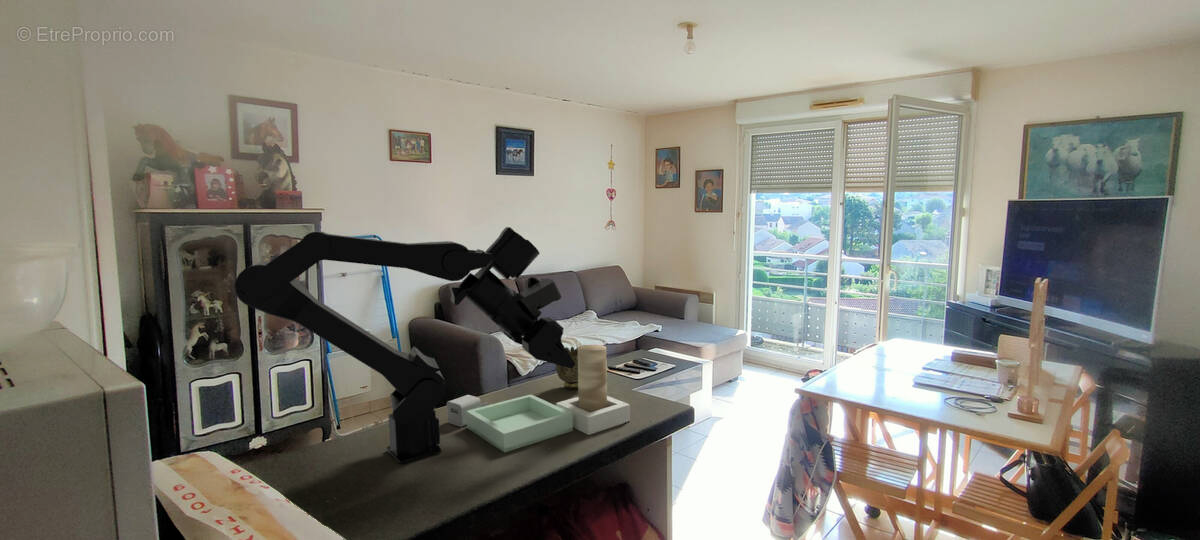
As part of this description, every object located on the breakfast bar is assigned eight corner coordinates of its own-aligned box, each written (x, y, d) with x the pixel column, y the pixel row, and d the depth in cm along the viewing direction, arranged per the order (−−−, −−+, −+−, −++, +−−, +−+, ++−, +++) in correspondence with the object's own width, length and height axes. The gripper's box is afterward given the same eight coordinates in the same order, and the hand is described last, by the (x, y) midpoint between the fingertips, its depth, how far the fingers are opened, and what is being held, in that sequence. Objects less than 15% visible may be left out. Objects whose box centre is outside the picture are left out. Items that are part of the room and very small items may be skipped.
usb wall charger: (447, 422, 98) (446, 400, 98) (477, 411, 104) (476, 390, 103) (462, 427, 96) (461, 405, 95) (492, 415, 101) (491, 394, 101)
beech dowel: (590, 428, 95) (589, 353, 93) (573, 419, 98) (571, 347, 97) (613, 420, 98) (612, 348, 96) (595, 413, 102) (594, 343, 100)
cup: (549, 385, 118) (548, 348, 117) (581, 380, 121) (581, 344, 120) (562, 395, 111) (561, 356, 111) (595, 390, 114) (595, 352, 114)
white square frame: (588, 434, 92) (588, 417, 91) (556, 419, 99) (556, 402, 98) (629, 421, 97) (629, 404, 97) (597, 407, 105) (596, 391, 104)
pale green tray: (504, 452, 85) (504, 433, 85) (466, 427, 95) (466, 410, 95) (572, 430, 94) (572, 413, 93) (531, 410, 104) (531, 394, 103)
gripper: (548, 268, 82) (617, 333, 88) (514, 259, 99) (573, 314, 105) (498, 326, 80) (571, 389, 86) (472, 306, 97) (534, 360, 103)
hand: (563, 359), depth 95 cm, fingers open, 9 cm apart
